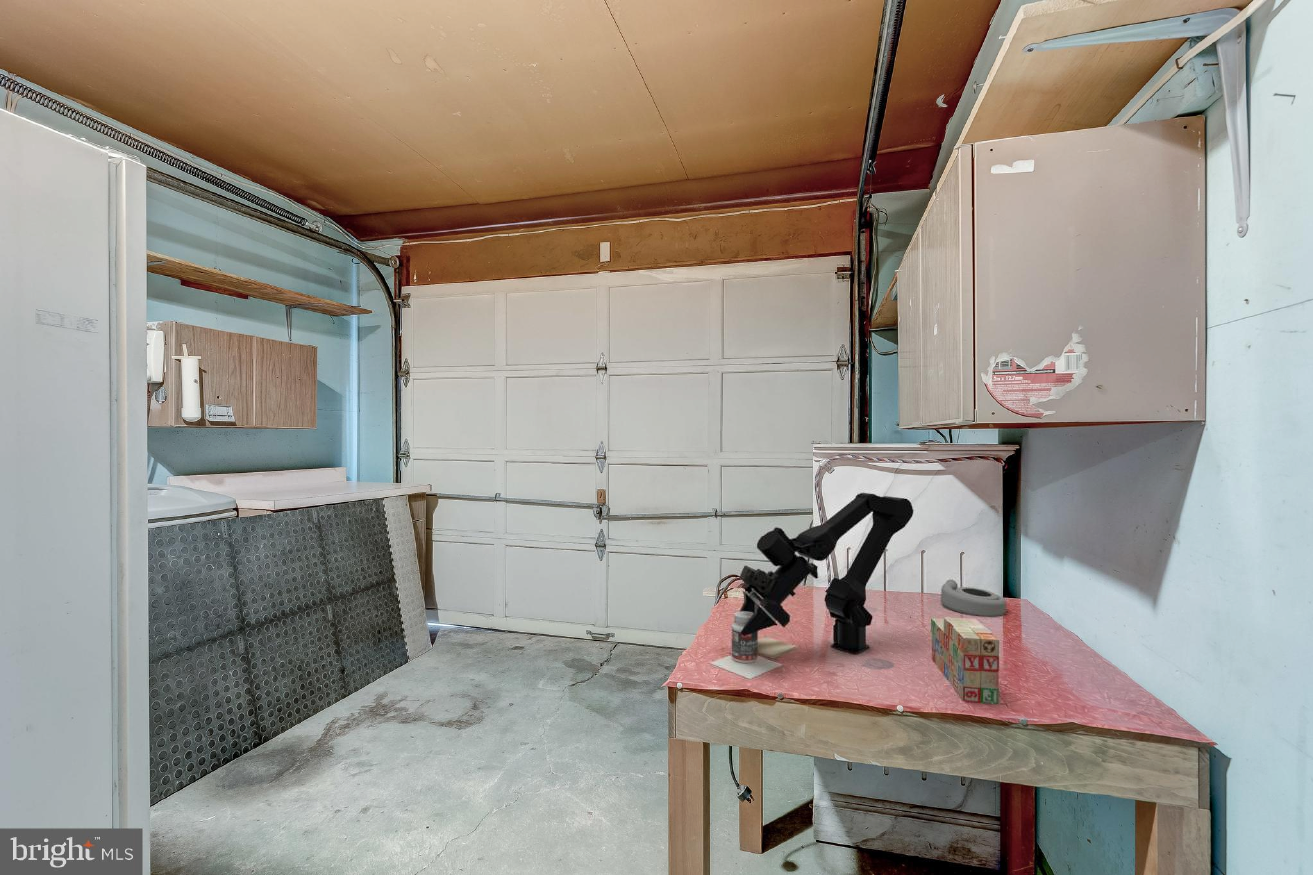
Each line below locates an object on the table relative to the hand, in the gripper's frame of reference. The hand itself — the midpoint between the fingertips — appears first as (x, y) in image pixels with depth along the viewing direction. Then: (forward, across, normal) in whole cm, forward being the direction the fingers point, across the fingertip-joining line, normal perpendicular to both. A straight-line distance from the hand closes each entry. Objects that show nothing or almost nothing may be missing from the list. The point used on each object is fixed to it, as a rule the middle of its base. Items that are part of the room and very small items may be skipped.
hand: (738, 629), depth 127 cm
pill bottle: (+4, 0, +6) cm, 7 cm away
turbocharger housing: (-49, -30, +59) cm, 83 cm away
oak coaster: (-2, -6, +11) cm, 13 cm away
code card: (+4, +3, +5) cm, 7 cm away
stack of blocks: (-25, +16, +35) cm, 46 cm away
